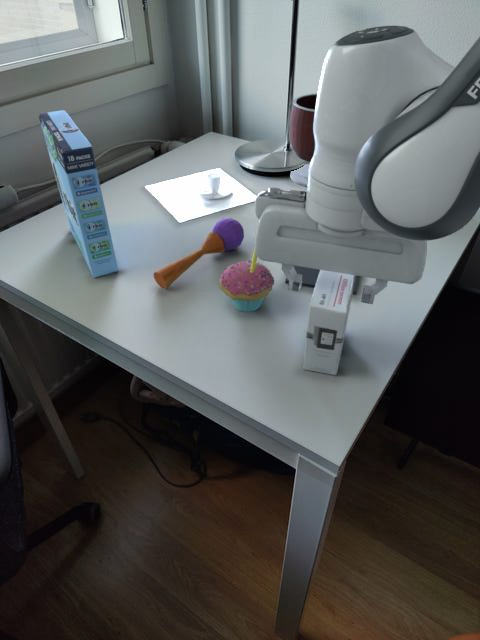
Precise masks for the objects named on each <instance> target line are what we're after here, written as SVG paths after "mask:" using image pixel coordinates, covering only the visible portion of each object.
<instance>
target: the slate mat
mask: <svg viewBox="0 0 480 640" xmlns="http://www.w3.org/2000/svg"><path fill="white" fill-rule="evenodd" d="M293 267H294V269H295V271H296V273H297V274H302V275H303V277H302V285H301V287H306V288H312V289H313V288H315V285H316V282H317V279H318V276H319V273H320V270H319V269H313V268H307V267H300V266H293ZM358 279H359V276H356V275H355V281H354V286H353V292H352V295H356V292H357V286H358V281H359V280H358ZM284 284H287V285H289V280H288V279H287V277H286V278H285V281H284Z"/></svg>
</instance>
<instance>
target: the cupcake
mask: <svg viewBox="0 0 480 640" xmlns="http://www.w3.org/2000/svg"><path fill="white" fill-rule="evenodd" d="M257 260H258V256H257V255H256V253H255V247H254V249H253V253H252V259H251V261H250V260H248V261H247V260H245V261H238V262H234V263H233V264H231V265H228V266H227V267H226V268H224V269H223V271H222V273H221V274H220V279H219V288H220V290H221V291H222V293H224V294H225V295H226V297H228V298H230V300H231V303H232V305H233V306H234V308H235V309H236V310H239V311H241V312H245V313H246V312H247V313H249V312H254V311H257V310H258V309H260V307H262V304H263V302H264V299H265V298H266V297H268V296H269V295H270V292H271V291H273V286H274V285H275V278H274V276H273V274H272V273H271V270H270V269H269V268H268V267H266V266H265V265H264V264H262V263H259V262H258V261H257Z"/></svg>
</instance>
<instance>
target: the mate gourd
mask: <svg viewBox="0 0 480 640" xmlns="http://www.w3.org/2000/svg"><path fill="white" fill-rule="evenodd" d="M317 93H318V92H317ZM317 93H315V92H314V93H308V94H307V93H306V94H302V95H298V96H297V97H295V98H294V99H293V104H292V107H291V112H290V116H289V117H290V118H289V139H290V140H289V141H290V145H291V149H292V150H293V152H294V153H295V154H296V156H297V158H299V159H300V160H302V161H305V162H308V163H304V164H305V165H304V164H303V165H304V166H303V167H301V168H299V169H297V170H294V171H291V170H290V174H289V175H290V176H289V177H290V179H291V181H292V182H294V183H295V184H297V185H300V186H302V187H306V188H307V184H308V174H309V166H310V162H311V159H312V157H313V154H314V150H315V138H314V133H313V124H314V115H315V107H316V100H317Z"/></svg>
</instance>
